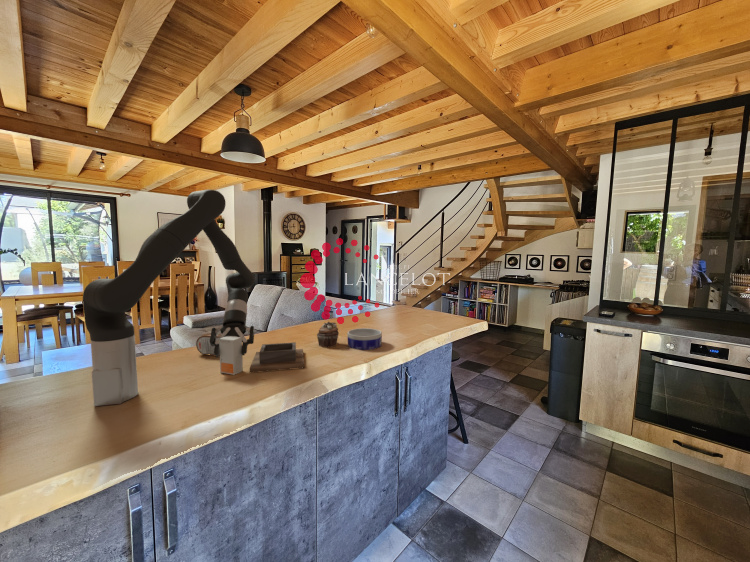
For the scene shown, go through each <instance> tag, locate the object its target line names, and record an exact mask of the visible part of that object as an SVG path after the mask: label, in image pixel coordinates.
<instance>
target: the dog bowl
mask: <svg viewBox="0 0 750 562" xmlns="http://www.w3.org/2000/svg"><path fill="white" fill-rule="evenodd" d="M382 332H383V331H381V330H380V329H376V328H370V327H366V328H365V327H364V328H363V327H362V328H360V327H359V328H353V329H349V330H348V331H347V333H346V334H347V346H348V347H349V348H351V349H352V350H353V349H354V350H358V351H359V350H360V351H368V350H375V348H376V349H378V348H380V347H381V346H382V340H383V339H382V336H383V335H382V334H383V333H382Z"/></svg>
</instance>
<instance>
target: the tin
mask: <svg viewBox="0 0 750 562" xmlns="http://www.w3.org/2000/svg"><path fill="white" fill-rule="evenodd" d="M221 335H222V333H219V334H218V336H216V341H217V340H218V339H219V337H220V336H221ZM210 336H211V333H204V334H202V335H201V336H199V337H198V338H197V340H196V343H195V346H196V349H197V351H198V353H200V354H202V355H203V354H210V355H209V356H214V355H215V354H214V348H215V346H211V344H210V342H209V341H210ZM219 355H220V354H219Z"/></svg>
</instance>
